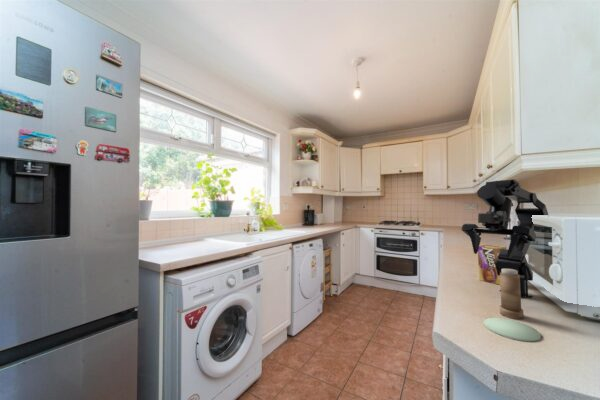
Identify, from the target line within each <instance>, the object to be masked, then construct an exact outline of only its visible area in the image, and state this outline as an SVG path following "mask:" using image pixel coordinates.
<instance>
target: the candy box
mask: <svg viewBox="0 0 600 400" xmlns="http://www.w3.org/2000/svg"><path fill="white" fill-rule="evenodd" d="M502 249H506V250H508V248H507V246H504V245H502V246H501V245H493V244H484V243H480V245H479V249H478V252H477V260H478V280H479V281H480V282H481V281H482V282H486V283H491V284H493V285H494V284H496V285H499V286H500V275H498V274H497V270H496V266H495V262H496V259H498V256H499V254H500V251H501V250H502Z"/></svg>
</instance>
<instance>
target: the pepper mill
mask: <svg viewBox="0 0 600 400" xmlns="http://www.w3.org/2000/svg"><path fill="white" fill-rule="evenodd" d="M501 271H502V272H500V285H499V286H500V290H501V292H500V303H501V304H500V305H499V314H500V315H501V316H503V317H505V318H508V319H510V320H523V319H524V316H525V314H524V310H523V309H522V297H521V292H520V275H518V271H517V270H514V269H506V268H504V269H501Z"/></svg>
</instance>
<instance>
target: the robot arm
mask: <svg viewBox="0 0 600 400" xmlns="http://www.w3.org/2000/svg"><path fill="white" fill-rule="evenodd" d="M476 195H477V197H478V198H479V199H480V201H482V202H484V204H485V205H486V206H489V208H488V211H486V212H484V213H481V212H480V213H477V214H478V215H477V223H478V224H481V226H483V227H479V226H478V225H477V224H476V223H463V224H462V225H461V229H460V230H461V231H462V232H463V233H465V234H466V235H467V236H468V237H469V238H470V241H471V246H472V250H473V254H475V255H478V249H479V245H480V244H481V240H482V237H481V236H482V234H485V235H487V234H488V235H502V236H505V235H506V236H510V241H509V242H510V243H509V245H508V248H506V249H507V250H506V249H502V250H501V251H500V254H499V256H498V259H496V262H495V266H496V270H497V274H498V275H500V272H502V271H501V269H504V268H506V269H514V270H517V271H518V275H520V292H521V298H533V295H532V294H530V293H529V287H528V286H529V284H528V283H529V281H532V282H533V281H534V278H533V277H534V272H533V270H532V268H531V267H530V265H529V262H528V260H527V258H526V255H527V253H528V250H529V247H530V245H531V242H535V241H536V239H537V237H536V236H537V234H536V231H535V232H534V224H533V222H532V218H531V217H532V215H548V216H549V213H548V208H547V205H546V204H545V203H544V202H542V201H541V200H539V198H538V197H537V194H536V193H535V192H531V191H529V190H526V189H525V188H522V187H521V185H520V182H518V181H517V180H516V179H513V178H511V179H503V180H493V181H486V182H485V184H484V185H482V186H480V188H478V190H477V191H476ZM513 200H514V201H516V202H517V205H516V208H515V209H514V212H515V214H516V218H517V220H518V221H519V224H518V225H514V226H512V228H508V227H509V224H510V223H511V221H512V219H511V217H510V215H511V211H512V207H514V203H513ZM521 204H532V205H533V206H534V207H533V208H531V207H529V208H528V207H527V208H526V207H524V208H523V207H521ZM499 292H500V293H501V289H499Z"/></svg>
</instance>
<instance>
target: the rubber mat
mask: <svg viewBox="0 0 600 400" xmlns="http://www.w3.org/2000/svg"><path fill="white" fill-rule="evenodd" d="M483 324H484V326H485V328H486V329H487V330H489V331H490V332H493V333H494V334H495V335H496V334H497V335H499V336H501V337H505V338H508V339H511V340H515V341H521V342H537V341H540V340H541V338H542V337H541V335H542V334H541V333H540V331H538V330H537V329H535V328H534V327H533V326H530V325H528V324H526V323H523V322H521V321H516V320H515V319H510V318H508V319H507V318H502V317H489V318H486V319H484V321H483Z"/></svg>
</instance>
